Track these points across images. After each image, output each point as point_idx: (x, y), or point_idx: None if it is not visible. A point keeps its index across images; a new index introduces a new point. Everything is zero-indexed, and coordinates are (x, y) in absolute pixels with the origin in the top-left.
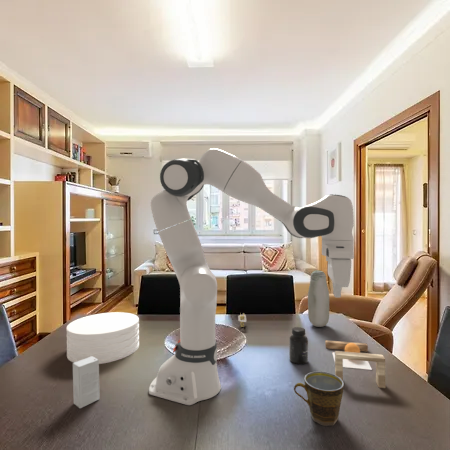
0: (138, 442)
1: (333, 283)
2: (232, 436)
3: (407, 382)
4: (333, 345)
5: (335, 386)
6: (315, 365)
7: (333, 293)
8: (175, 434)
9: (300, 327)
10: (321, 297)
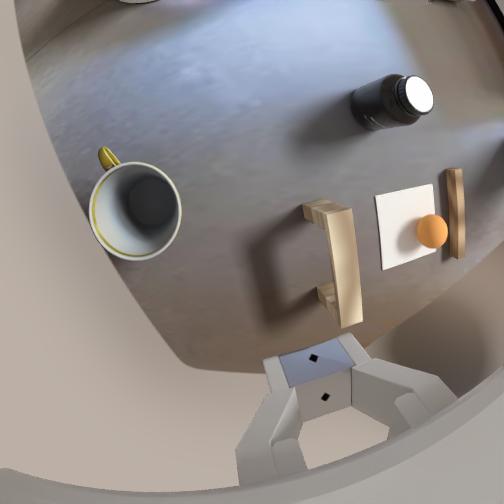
0: (20, 14)
1: (57, 487)
2: (49, 87)
3: (352, 328)
4: (452, 186)
5: (172, 230)
6: (364, 149)
7: (339, 342)
8: (36, 29)
9: (433, 100)
10: None
